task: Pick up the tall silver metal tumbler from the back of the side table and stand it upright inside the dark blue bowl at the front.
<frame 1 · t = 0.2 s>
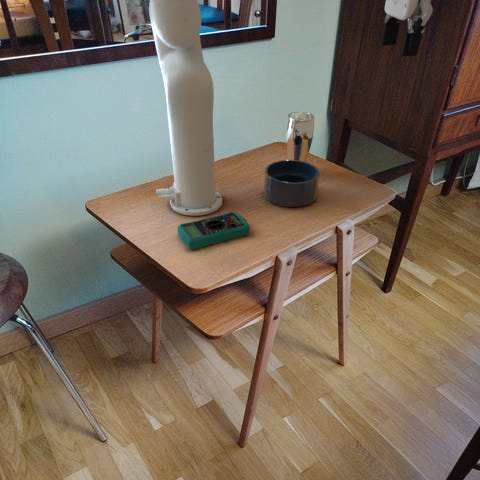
hand: (398, 50, 94), 31 cm above the table, tool pointing down, fingers open, 9 cm apart
dark blue bowl: (290, 196, 112), on the table
silver metal tumbler: (295, 174, 121), on the table
digital multimeter: (213, 236, 98), on the table
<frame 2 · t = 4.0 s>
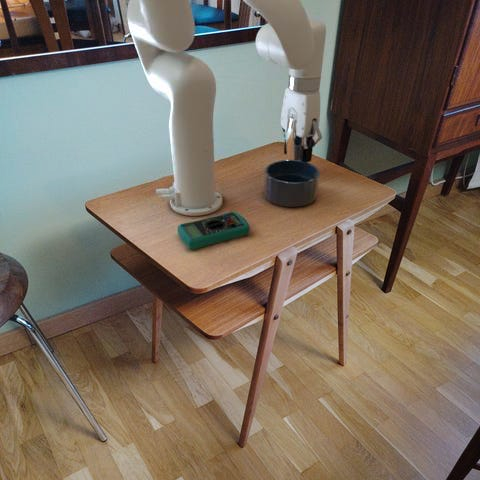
hand: (297, 156, 118), 5 cm above the table, tool pointing down, fingers closed on silver metal tumbler, 6 cm apart
silver metal tumbler: (295, 174, 121), on the table, touching gripper
everything else where it was.
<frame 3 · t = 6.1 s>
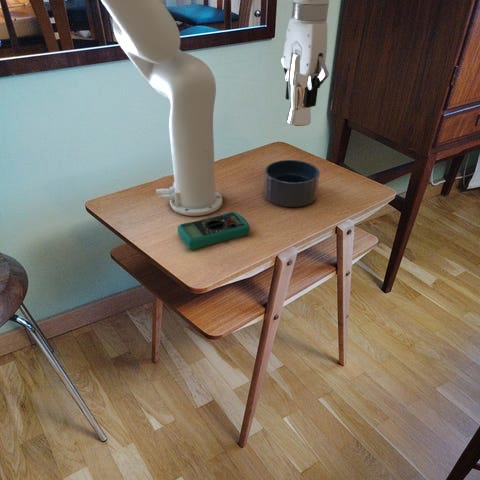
hand: (300, 101, 107), 19 cm above the table, tool pointing down, fingers closed on silver metal tumbler, 6 cm apart
silver metal tumbler: (298, 122, 111), point 14 cm above the table, touching gripper
everything else where it was.
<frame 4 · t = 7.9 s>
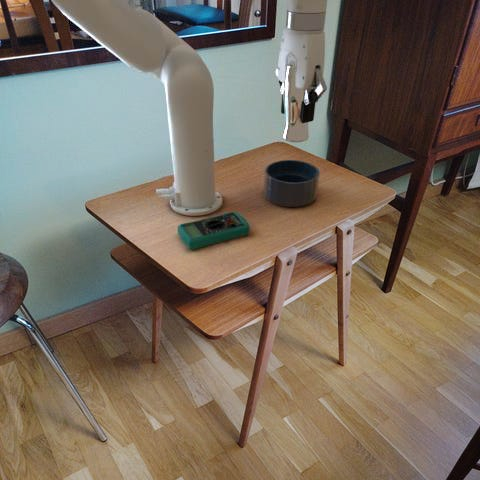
hand: (296, 116, 100), 19 cm above the table, tool pointing down, fingers closed on silver metal tumbler, 6 cm apart
silver metal tumbler: (295, 138, 103), point 14 cm above the table, touching gripper
everything else where it was.
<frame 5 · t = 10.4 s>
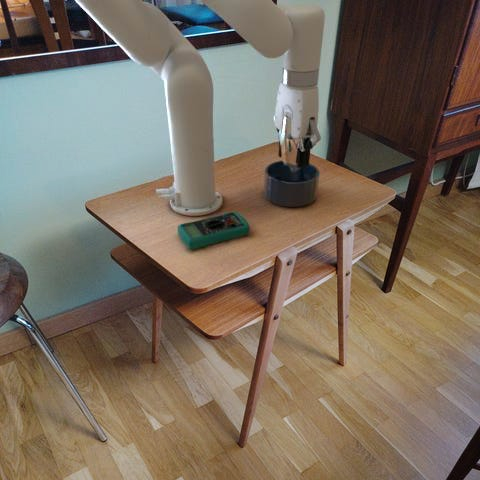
hand: (293, 160, 106), 9 cm above the table, tool pointing down, fingers closed on silver metal tumbler, 6 cm apart
silver metal tumbler: (291, 179, 109), point 4 cm above the table, touching gripper
everything else where it was.
when the fingers open (5 cm above the table, at t = 12.1 s): silver metal tumbler stays where it is, resting on dark blue bowl.
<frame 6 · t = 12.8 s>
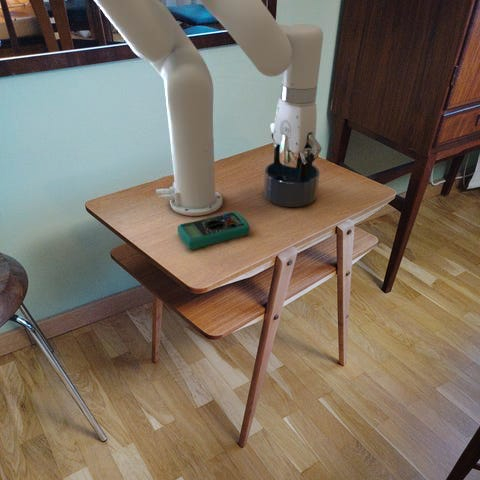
hand: (291, 170, 107), 7 cm above the table, tool pointing down, fingers open, 9 cm apart
silver metal tumbler: (290, 194, 112), resting on dark blue bowl
everything else where it was.
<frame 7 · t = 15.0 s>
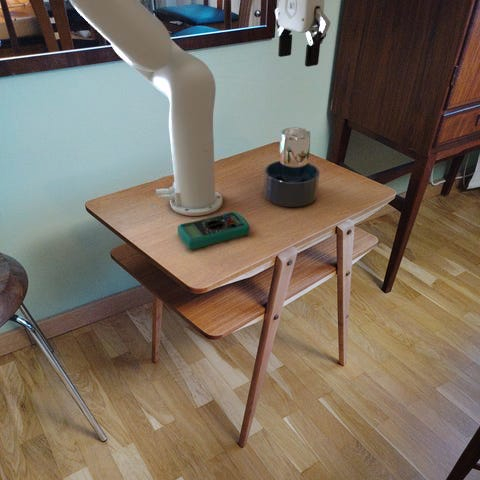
hand: (297, 60, 98), 28 cm above the table, tool pointing down, fingers open, 9 cm apart
nothing on the table moved.
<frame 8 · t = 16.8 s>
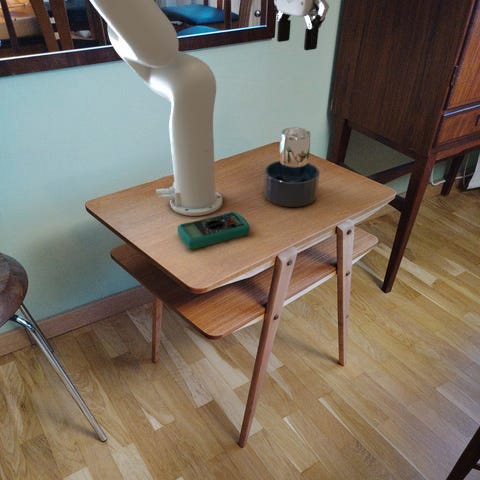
hand: (296, 45, 101), 30 cm above the table, tool pointing down, fingers open, 9 cm apart
nothing on the table moved.
at the end: silver metal tumbler 0.1 cm off-centre in the dark blue bowl, point 0.4 cm above the dark blue bowl's base; silver metal tumbler tilted 0°; the gripper is holding nothing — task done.
